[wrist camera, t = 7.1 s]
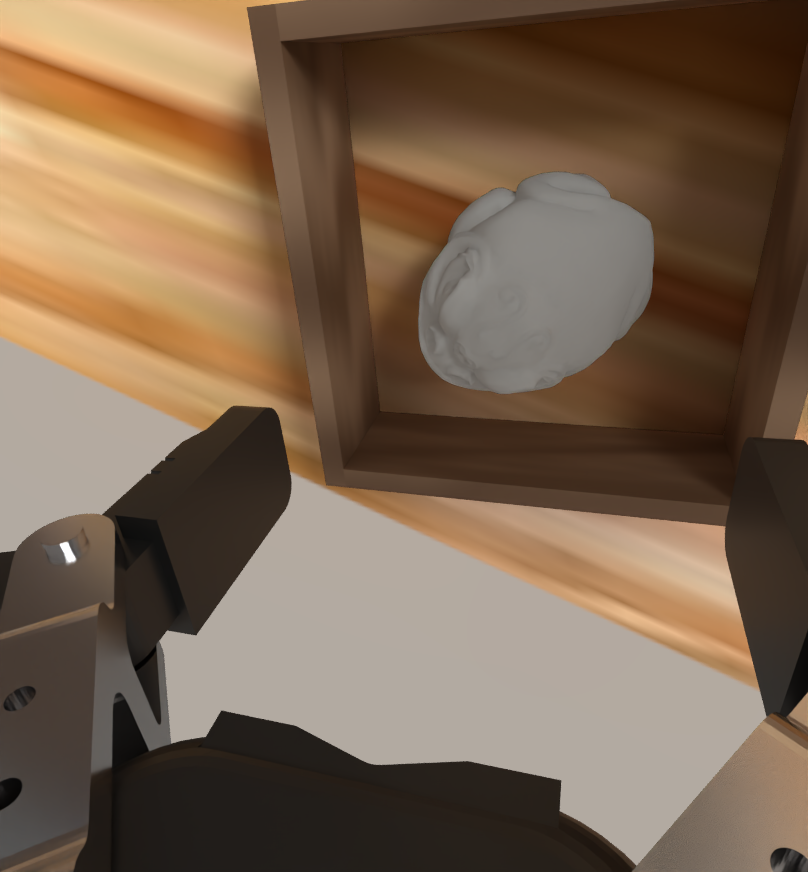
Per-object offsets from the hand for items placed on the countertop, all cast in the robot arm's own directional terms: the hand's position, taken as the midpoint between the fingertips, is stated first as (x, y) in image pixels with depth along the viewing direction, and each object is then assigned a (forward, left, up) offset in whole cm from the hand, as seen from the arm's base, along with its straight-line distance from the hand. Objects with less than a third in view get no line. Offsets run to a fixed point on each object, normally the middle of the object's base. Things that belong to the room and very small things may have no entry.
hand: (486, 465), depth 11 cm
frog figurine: (0, 0, -13) cm, 13 cm away
